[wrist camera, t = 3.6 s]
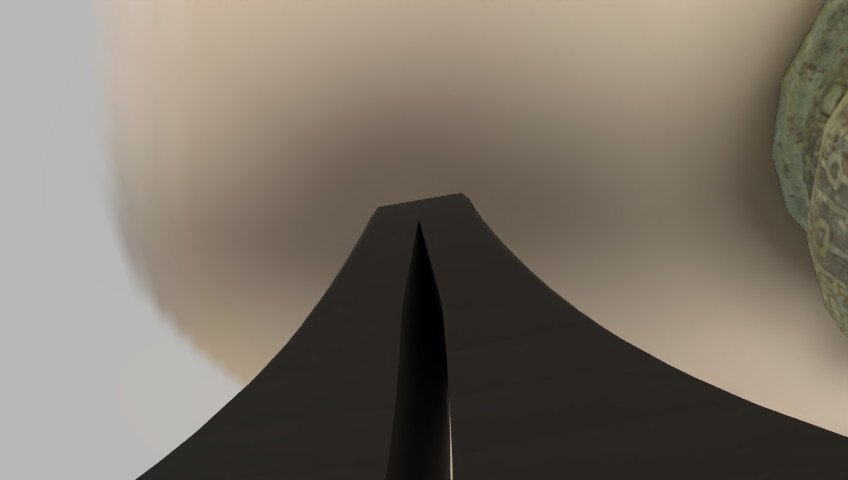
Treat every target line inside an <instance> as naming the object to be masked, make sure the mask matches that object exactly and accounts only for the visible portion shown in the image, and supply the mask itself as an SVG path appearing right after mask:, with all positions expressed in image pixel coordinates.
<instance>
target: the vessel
mask: <svg viewBox="0 0 848 480" xmlns="http://www.w3.org/2000/svg"><path fill="white" fill-rule="evenodd" d="M771 155H772V159H773V163H774V166H775V170H776V173H777V177H778V180H779V184H780V187H781V191H782V194H783V198H784V202H785V205H786V209H787V211H788V212H789V213H790V215H791V216H792V217H793V218H794V219H795V220H796V221H797V222H798V223H799V224H800V225H801V226H802V227H803V229H804V230H805V231H806V232H807V242H808V245H809V249H810V253H811V256H812V260H813V264H814V267H815V271H816V275H817V278H818V282H819V286H820V289H821V293H822V297H823V300H824V304H825V308H826V309H827V310H828V312H829V313H830V315H831V316H832V318H833V319H834V320H835V322H836V323H837V325H838V326H839V328H840V329H841V331H842V332H844V333H845V334H846V335H847V336H848V0H826V1H825V3H824V5H823V7H822V8H821V10H820V12H819V14H818V16H817V17H816V19H815V21H814V23H813V25H812V26H811V28H810V30H809V32H808V34H807V35H806V37H805V39H804V41H803V42H802V44H801V46H800V48H799V50H798V51H797V53H796V55H795V57H794V58H793V60H792V62H791V64H790V66H789V67H788V69H787V71H786V73H785V74H784V76H783V78H782V80H781V85H780V92H779V99H778V106H777V114H776V121H775V128H774V135H773V143H772V150H771Z"/></svg>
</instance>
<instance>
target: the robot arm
mask: <svg viewBox="0 0 848 480" xmlns="http://www.w3.org/2000/svg"><path fill="white" fill-rule="evenodd" d="M449 398H450V406H449ZM450 418H451V439H452V463H453V480H848V437H846V436H843V435H840V434H837V433H834V432H832V431H829V430H826V429H823V428H821V427H818V426H815V425H812V424H809V423H807V422H804V421H801V420H798V419H796V418H793V417H790V416H787V415H784V414H782V413H779V412H776V411H773V410H770V409H768V408H765V407H762V406H759V405H757V404H755V403H752V402H750V401H747V400H745V399H742V398H740V397H738V396H736V395H733V394H731V393H729V392H727V391H724V390H722V389H720V388H717V387H715V386H713V385H711V384H708V383H706V382H704V381H702V380H699V379H697V378H695V377H693V376H691V375H689V374H687V373H685V372H683V371H680V370H678V369H676V368H674V367H672V366H670V365H668V364H666V363H665V362H663V361H661V360H659V359H657V358H655V357H654V356H652V355H650V354H648V353H646V352H644V351H643V350H641V349H639V348H637V347H635V346H633V345H632V344H630V343H628V342H626V341H624V340H622V339H621V338H619V337H618V336H616V335H614V334H613V333H611V332H610V331H608V330H607V329H605V328H603V327H602V326H600V325H599V324H598V323H596V322H595V321H593V320H592V319H590V318H589V317H587V316H586V315H585V314H583V313H582V312H580V311H579V310H578V309H576V308H575V307H574V306H572V305H571V304H570V303H568V302H567V301H566V300H564V299H563V298H562V297H561V296H559V295H558V294H557V293H556V292H554V291H553V290H552V289H551V288H550V287H549V286H547V285H546V284H545V283H544V282H543V281H542V280H540V279H539V278H538V277H537V276H536V275H535V274H534V273H533V272H531V271H530V270H529V269H528V268H527V267H526V266H525V265H524V264H523V263H522V262H521V261H520V260H519V259H518V258H517V257H516V256H515V255H514V254H513V253H512V252H511V251H510V250H509V249H508V248H507V247H506V246H505V245H504V244H503V243H502V242H501V241H500V239H499V238H498V237H497V236H496V235H495V234H494V233H493V232H492V230H491V229H490V228H489V227H488V225H487V224H486V223H485V222H484V221H483V219H482V218H481V217H480V215H479V214H478V213H477V211H476V210H475V208H474V207H473V205H472V203H471V201H470V199H469V198H467V197H466V196H465V195H463V194H462V193H458V194H452V195H446V196H440V197H435V198H429V199H423V200H417V201H411V202H406V203H400V204H394V205H388V206H383V207H378V209H377V210H376V211H375V213H374V214H373V215H372V217H371V219H370V221H369V223H368V224H367V226H366V228H365V230H364V232H363V233H362V235H361V237H360V239H359V241H358V242H357V244H356V246H355V247H354V249H353V251H352V252H351V254H350V256H349V257H348V259H347V261H346V262H345V264H344V265H343V267H342V268H341V270H340V272H339V273H338V275H337V276H336V278H335V279H334V281H333V282H332V284H331V286H330V287H329V289H328V290H327V291H326V293H325V294H324V296H323V297H322V298H321V300H320V301H319V302H318V304H317V305H316V307H315V308H314V309H313V311H312V312H311V313H310V315H309V316H308V317H307V319H306V320H305V321H304V323H303V324H302V325H301V327H300V328H299V329H298V331H297V332H296V333H295V334H294V336H293V337H292V338H291V339H290V340H289V342H288V343H287V344H286V345H285V346H284V347H283V349H282V350H281V351H280V352H279V353H278V354H277V355H276V356H275V357H274V358H273V359H272V360H271V361H270V362H269V364H268V365H267V366H266V367H265V368H264V369H263V370H262V371H261V372H260V373H259V374H258V375H257V376H256V377H255V378H254V379H253V380H252V381H251V382H250V383H249V384H248V385H247V386H246V387H245V388H244V389H243V390H242V391H241V392H239V393H238V394H237V395H236V396H235V397H234V398H233V399H232V400H231V401H230V402H228V403H227V404H226V405H225V406H224V407H223V408H222V409H221V410H220V411H219V412H218V413H216V414H215V415H214V416H213V417H212V418H211V419H210V420H209V421H208V422H207V423H206V424H204V425H203V426H202V427H201V428H200V429H199V430H198V431H197V432H195V433H194V434H193V435H192V436H191V437H189V438H188V439H187V440H186V441H185V442H183V443H182V444H181V445H180V446H178V447H177V448H176V449H175V450H173V451H172V452H171V453H170V454H169V455H167V456H166V457H165V458H164V459H162V460H161V461H160V462H158V463H157V464H156V465H154V466H153V467H152V468H150V469H149V470H148V471H146V472H145V473H144V474H142V475H141V476H140V477H138V478H137V479H136V480H450Z"/></svg>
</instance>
